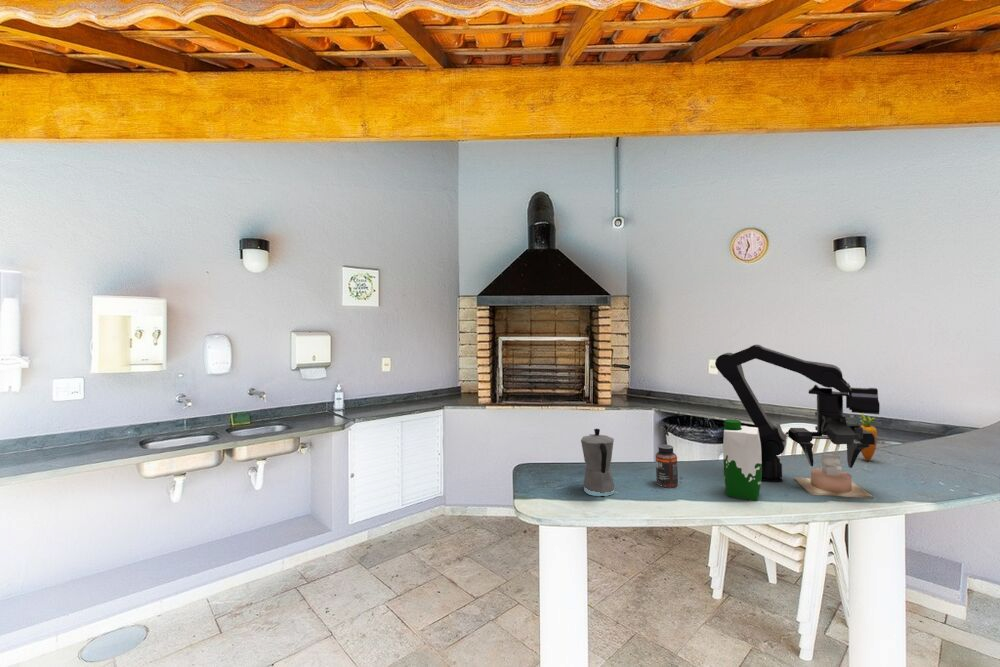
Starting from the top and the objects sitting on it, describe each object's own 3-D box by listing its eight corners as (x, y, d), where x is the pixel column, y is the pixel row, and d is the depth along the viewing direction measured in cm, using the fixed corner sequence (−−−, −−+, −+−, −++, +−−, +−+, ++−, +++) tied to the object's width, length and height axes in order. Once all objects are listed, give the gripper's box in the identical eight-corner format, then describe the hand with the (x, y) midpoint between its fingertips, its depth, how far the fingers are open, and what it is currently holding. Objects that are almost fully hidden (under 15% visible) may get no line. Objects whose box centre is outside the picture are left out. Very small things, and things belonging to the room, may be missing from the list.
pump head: (830, 479, 115) (830, 461, 115) (818, 470, 122) (818, 453, 121) (848, 480, 114) (848, 462, 114) (835, 470, 121) (835, 454, 120)
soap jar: (819, 491, 116) (819, 469, 116) (805, 479, 125) (804, 459, 125) (858, 493, 114) (858, 471, 114) (841, 480, 122) (841, 460, 122)
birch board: (810, 494, 116) (810, 492, 116) (794, 479, 126) (793, 477, 126) (872, 498, 112) (872, 495, 112) (850, 482, 123) (850, 480, 123)
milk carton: (725, 485, 124) (724, 416, 123) (762, 491, 119) (761, 419, 118) (722, 496, 116) (721, 423, 116) (762, 503, 112) (760, 426, 111)
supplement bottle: (678, 481, 128) (677, 444, 128) (677, 489, 123) (676, 450, 122) (657, 479, 131) (656, 442, 130) (655, 486, 125) (654, 448, 125)
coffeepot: (578, 482, 131) (576, 423, 130) (609, 481, 130) (607, 422, 130) (588, 504, 115) (586, 437, 115) (623, 503, 115) (621, 436, 114)
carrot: (881, 463, 136) (881, 416, 136) (863, 463, 137) (862, 416, 137) (871, 458, 141) (870, 413, 140) (854, 458, 142) (853, 413, 141)
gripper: (803, 416, 113) (804, 475, 114) (888, 418, 108) (889, 479, 109) (786, 407, 124) (787, 461, 124) (863, 408, 119) (864, 464, 120)
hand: (830, 466), depth 119 cm, fingers open, 9 cm apart
